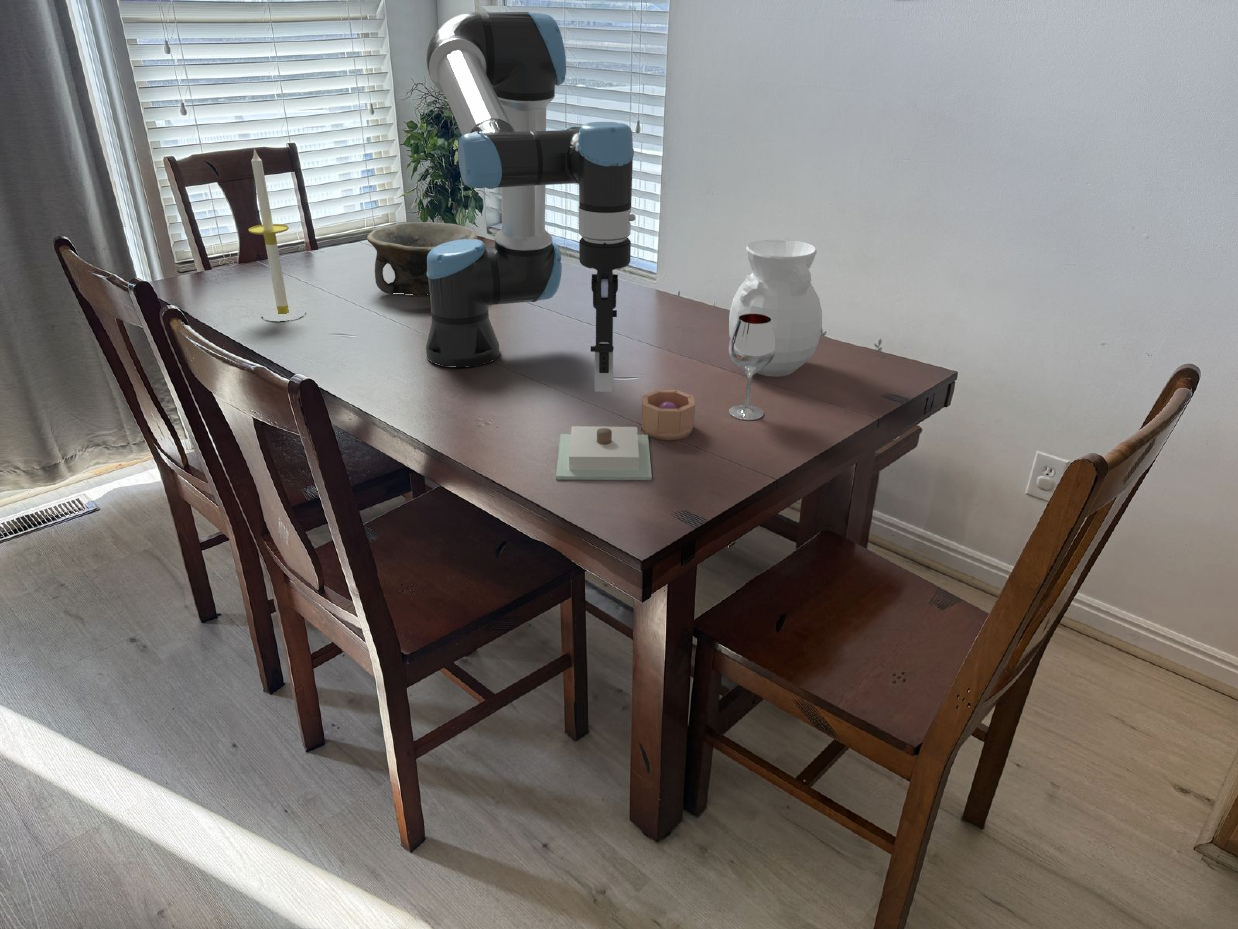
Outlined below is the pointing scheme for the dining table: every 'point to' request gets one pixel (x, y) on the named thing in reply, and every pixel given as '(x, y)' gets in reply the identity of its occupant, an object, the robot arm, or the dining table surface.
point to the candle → (269, 235)
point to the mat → (567, 474)
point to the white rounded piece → (782, 301)
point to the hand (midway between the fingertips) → (604, 373)
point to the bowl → (411, 253)
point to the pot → (667, 414)
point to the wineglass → (751, 355)
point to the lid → (604, 448)
